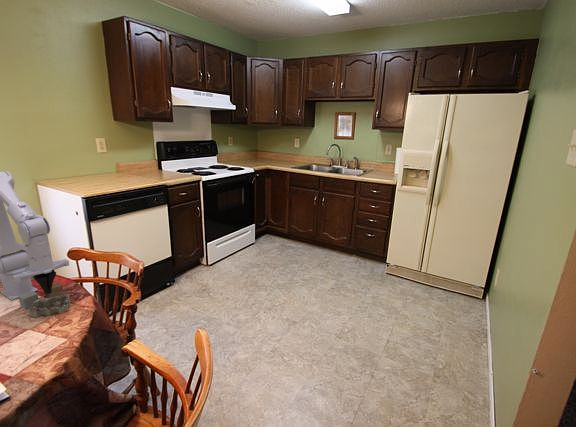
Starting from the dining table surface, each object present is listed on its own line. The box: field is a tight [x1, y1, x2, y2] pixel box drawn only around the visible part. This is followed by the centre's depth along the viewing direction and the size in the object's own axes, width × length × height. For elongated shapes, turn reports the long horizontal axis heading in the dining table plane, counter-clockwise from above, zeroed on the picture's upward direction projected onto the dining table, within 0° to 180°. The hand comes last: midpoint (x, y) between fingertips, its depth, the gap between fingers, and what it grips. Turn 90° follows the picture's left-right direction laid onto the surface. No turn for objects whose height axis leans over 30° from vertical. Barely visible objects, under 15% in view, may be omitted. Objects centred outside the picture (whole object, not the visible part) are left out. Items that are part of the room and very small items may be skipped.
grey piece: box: [27, 293, 71, 319], centre depth 103 cm, size 11×8×4 cm
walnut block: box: [45, 281, 65, 298], centre depth 112 cm, size 4×4×4 cm
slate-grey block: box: [18, 291, 40, 310], centre depth 106 cm, size 4×4×4 cm
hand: (47, 292), depth 102 cm, fingers closed
